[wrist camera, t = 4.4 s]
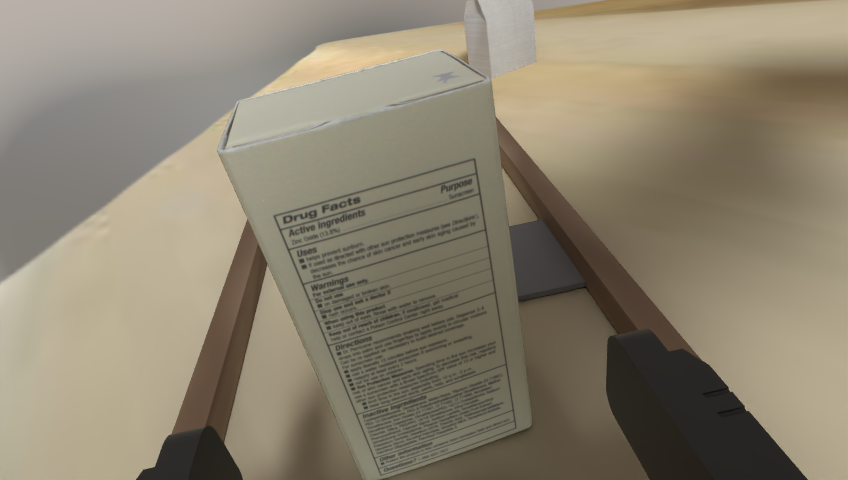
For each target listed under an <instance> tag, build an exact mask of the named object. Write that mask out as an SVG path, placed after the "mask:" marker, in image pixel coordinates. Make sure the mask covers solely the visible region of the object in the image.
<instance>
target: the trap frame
mask: <svg viewBox="0 0 848 480" xmlns="http://www.w3.org/2000/svg"><path fill="white" fill-rule="evenodd" d="M496 125H497V134H498V143H499V150H500V158H501V165H502V166H503V168H504V169H505V170H506V172H507V173H508V175H509V176H510V178H511V179H512V181H513V182H514V184H515V185H516V186H517V188H518V189H519V191H520V192H521V194H522V195H523V197H524V198H525V199H526V201H527V202H528V204H529V205H530V207H531V208H532V210H533V211H534V212H535V214H536V215H537V217H538V218H539V220H543V221H544V223H545V224H546V225H547V227H548V228H549V230H550V231H551V233H552V234H553V235H554V237H555V238H556V240H557V241H558V243H559V244H560V245H561V247H562V248H563V250H564V251H565V252H566V254H567V255H568V257H569V258H570V260H571V261H572V262H573V264H574V265H575V267H576V268H577V270H578V271H579V272H580V274H581V275H582V277H583V278H584V280H585V281H586V288H587V289H588V290H589V292H590V293H591V295H592V296H593V298H594V299H595V301H596V302H597V303H598V305H599V306H600V308H601V309H602V311H603V312H604V314H605V315H606V316H607V318H608V319H609V321H610V322H611V324H612V325H613V327H614V328H615V330H616V331H617V332H618V334H623V333H627V332H632V331H636V330H640V329H645V328H647V329H650V330H651V331H652V332H654V334H655V335H656V336H657V337H658V338H659V340H660V341H661V342H662V344H663V345H664V346H665V347H666V349H667V350H668V351H673V350H678V349H682V348H683V349H684V350H686V351H688V352H689V353H691V354H692V355H694V356H696V357H697V358H699V357H698V355H697V354H696V353H695V352H694V351H693V350H692V348H691V347H690V346H689V345H688V344H687V342H686V341H685V340H684V339H683V338H682V337H681V335H680V334H679V333H678V332H677V331H676V329H675V328H674V327H673V326H672V325H671V324H670V322H669V321H668V320H667V319H666V318H665V316H664V315H663V314H662V313H661V312H660V311H659V309H658V308H657V307H656V306H655V305H654V303H653V302H652V301H651V300H650V299H649V298H648V296H647V295H646V294H645V293H644V292H643V290H642V289H641V288H640V287H639V286H638V285H637V283H636V282H635V281H634V280H633V279H632V277H631V276H630V275H629V274H628V273H627V272H626V270H625V269H624V268H623V267H622V266H621V264H620V263H619V262H618V261H617V260H616V259H615V257H614V256H613V255H612V254H611V253H610V251H609V250H608V249H607V248H606V247H605V246H604V244H603V243H602V242H601V241H600V240H599V238H598V237H597V236H596V235H595V234H594V233H593V231H592V230H591V229H590V228H589V227H588V225H587V224H586V223H585V222H584V221H583V220H582V218H581V217H580V216H579V215H578V214H577V212H576V211H575V210H574V209H573V208H572V207H571V205H570V204H569V203H568V202H567V201H566V199H565V198H564V197H563V196H562V195H561V194H560V192H559V191H558V190H557V189H556V188H555V186H554V185H553V184H552V183H551V182H550V180H549V179H548V178H547V177H546V176H545V175H544V173H543V172H542V171H541V170H540V169H539V167H538V166H537V165H536V164H535V163H534V162H533V160H532V159H531V158H530V157H529V156H528V154H527V153H526V152H525V151H524V150H523V149H522V147H521V146H520V145H519V144H518V143H517V141H516V140H515V139H514V138H513V137H512V136H511V134H510V133H509V132H508V131H507V130H506V128H505V127H504V126H503V125H502V124H501V123H500V121H499V120H498V119H497V118H496ZM266 266H267V262H266V259H265V257H264V255H263V253H262V250H261V248H260V246H259V244H258V241H257V239H256V237H255V235H254V232H253V230H252V228H251V225H250V223H249V221H248V219H247V222H246V225H245V228H244V230H243V233H242V236H241V239H240V242H239V245H238V248H237V250H236V253H235V256H234V259H233V262H232V265H231V267H230V270H229V273H228V276H227V279H226V282H225V284H224V287H223V290H222V293H221V296H220V299H219V301H218V304H217V307H216V310H215V313H214V316H213V319H212V321H211V324H210V327H209V330H208V333H207V336H206V338H205V341H204V344H203V347H202V350H201V353H200V355H199V358H198V361H197V364H196V367H195V370H194V373H193V375H192V378H191V381H190V384H189V387H188V390H187V392H186V395H185V398H184V401H183V404H182V407H181V409H180V412H179V415H178V418H177V421H176V424H175V426H174V429H173V432H172V434H175V433H179V432H183V431H188V430H192V429H197V428H201V427H206V426H212V427H213V428H214V429H215V430H216V431H217V433H218V435H219V436H220V438H221V440H222V441H223V442H224V438H225V434H226V430H227V426H228V422H229V417H230V413H231V409H232V405H233V401H234V397H235V393H236V389H237V385H238V380H239V376H240V372H241V368H242V364H243V360H244V356H245V352H246V348H247V344H248V339H249V335H250V331H251V327H252V323H253V319H254V315H255V311H256V307H257V302H258V298H259V294H260V290H261V286H262V282H263V278H264V274H265V270H266ZM699 359H700V358H699ZM700 360H701V359H700Z"/></svg>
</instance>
